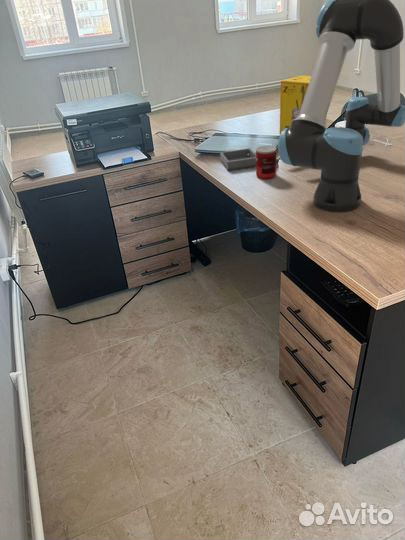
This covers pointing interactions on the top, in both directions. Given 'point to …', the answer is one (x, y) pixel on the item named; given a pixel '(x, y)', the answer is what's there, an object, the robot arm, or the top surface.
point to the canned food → (266, 162)
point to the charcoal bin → (238, 159)
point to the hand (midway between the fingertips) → (287, 153)
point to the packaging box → (292, 99)
